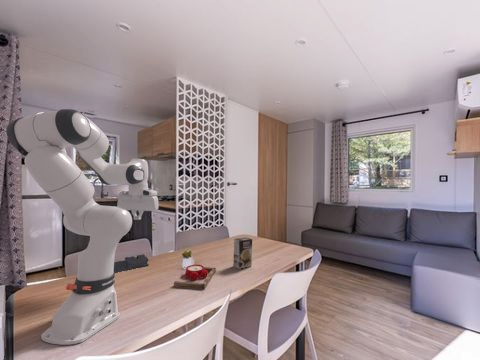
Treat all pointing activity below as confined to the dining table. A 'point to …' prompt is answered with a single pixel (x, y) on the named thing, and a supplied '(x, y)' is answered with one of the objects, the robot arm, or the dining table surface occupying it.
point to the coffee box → (242, 252)
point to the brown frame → (197, 285)
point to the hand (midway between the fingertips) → (137, 219)
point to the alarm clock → (195, 272)
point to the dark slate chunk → (131, 263)
